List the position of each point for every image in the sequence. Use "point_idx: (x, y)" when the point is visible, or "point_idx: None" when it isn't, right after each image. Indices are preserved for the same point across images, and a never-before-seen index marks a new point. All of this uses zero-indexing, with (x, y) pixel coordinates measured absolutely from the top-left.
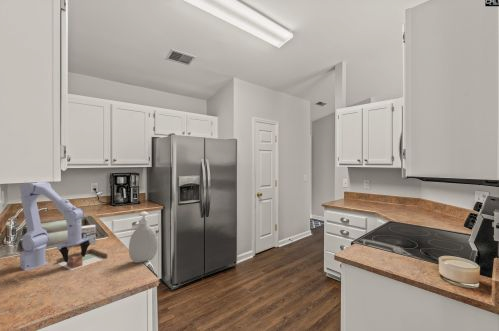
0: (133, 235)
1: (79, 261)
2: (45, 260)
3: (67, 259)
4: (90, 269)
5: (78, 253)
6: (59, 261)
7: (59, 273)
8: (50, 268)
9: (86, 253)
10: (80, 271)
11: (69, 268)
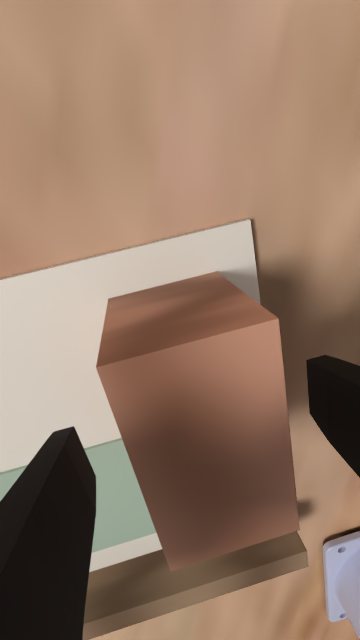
0: None
1: (151, 312)
2: (354, 591)
3: (344, 370)
4: (24, 41)
5: (103, 617)
6: None
7: (349, 253)
8: None
9: None
10: (165, 95)
11: None
